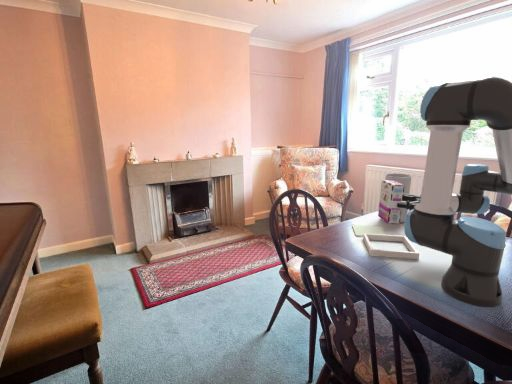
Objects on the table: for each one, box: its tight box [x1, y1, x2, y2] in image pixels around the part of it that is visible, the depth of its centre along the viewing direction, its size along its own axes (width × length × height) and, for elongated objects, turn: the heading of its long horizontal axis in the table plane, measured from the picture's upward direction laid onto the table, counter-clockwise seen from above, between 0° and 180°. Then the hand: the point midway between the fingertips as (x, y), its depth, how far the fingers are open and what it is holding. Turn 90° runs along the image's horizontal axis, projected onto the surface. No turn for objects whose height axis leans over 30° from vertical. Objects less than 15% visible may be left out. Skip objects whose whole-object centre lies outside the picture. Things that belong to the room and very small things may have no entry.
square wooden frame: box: [362, 233, 420, 260], centre depth 120 cm, size 18×18×2 cm
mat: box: [351, 224, 387, 238], centre depth 138 cm, size 14×14×1 cm
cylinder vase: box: [384, 173, 412, 224], centre depth 153 cm, size 12×12×25 cm
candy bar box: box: [377, 179, 405, 225], centre depth 116 cm, size 11×5×16 cm, turn 178°
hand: (383, 200), depth 116 cm, fingers closed on candy bar box, 11 cm apart
